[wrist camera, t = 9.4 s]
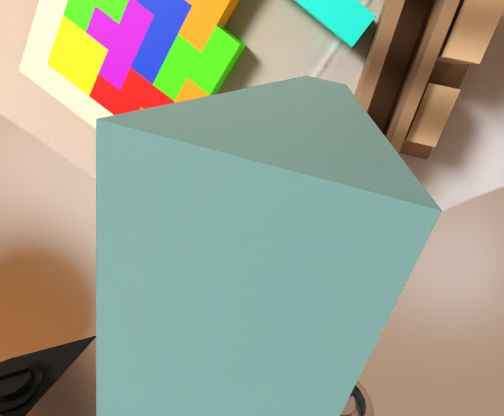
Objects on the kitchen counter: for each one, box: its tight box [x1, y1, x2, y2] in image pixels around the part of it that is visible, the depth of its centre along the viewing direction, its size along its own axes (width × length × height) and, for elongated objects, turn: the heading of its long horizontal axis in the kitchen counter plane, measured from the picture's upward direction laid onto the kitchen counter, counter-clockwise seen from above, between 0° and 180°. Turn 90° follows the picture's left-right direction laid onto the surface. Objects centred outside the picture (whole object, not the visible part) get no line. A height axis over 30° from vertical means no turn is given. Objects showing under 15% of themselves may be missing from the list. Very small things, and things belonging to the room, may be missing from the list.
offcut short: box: [405, 83, 461, 147], centre depth 31 cm, size 5×3×4 cm, turn 168°
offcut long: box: [436, 0, 504, 65], centre depth 27 cm, size 6×3×6 cm, turn 168°
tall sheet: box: [96, 76, 442, 416], centre depth 12 cm, size 12×2×16 cm, turn 168°
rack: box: [355, 0, 469, 159], centre depth 30 cm, size 16×9×6 cm, turn 168°
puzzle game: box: [19, 0, 376, 128], centre depth 35 cm, size 30×3×30 cm
